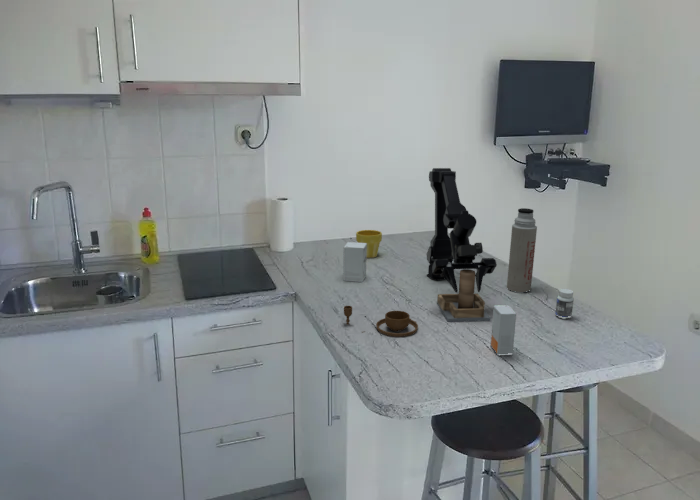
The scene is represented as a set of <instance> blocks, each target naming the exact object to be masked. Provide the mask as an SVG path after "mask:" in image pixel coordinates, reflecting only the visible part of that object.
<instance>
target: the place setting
mask: <svg viewBox="0 0 700 500" xmlns="http://www.w3.org/2000/svg"><path fill="white" fill-rule="evenodd" d="M343 315H344V316H345V317H346V320H345V322H346V325H347V326H350V321H351V320H350V317H351V316H352V315H353V306H351V305H344V306H343ZM384 324H385V325H386V327H387V328H388V329H390V330H391V331H393V332H389V331H386V330H383V329H381V328H380V326H381V325H384ZM409 325H411V326H412V327H413V328H414V329H413V330H412V331H408V332H407V331H406V332H403V331H404V330H405V329H407V328H408V327H409ZM375 327H376V329H377V331H378V332H379V333H380V334H382V335H385V336H388V337H394V338H403V337H409V336H413V335H414V334H415V333H416V332H417V331H418V329H419V325H418V322H417V321H415V320H412V318H410V314H409V313H407V312H406V311H402V310H389V311H387V312H386V313H385V318H381V319H379V320H378V321H377V322H376V323H375ZM363 333H365V330H362V334H363Z"/></svg>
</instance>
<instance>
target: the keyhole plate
mask: <svg viewBox="0 0 700 500" xmlns="http://www.w3.org/2000/svg"><path fill="white" fill-rule="evenodd" d="M458 298H459V293H440V294H437V301H436V306H437V307H438V308H439V311H441V313H442V315H443V317H444V319H445V320H446V322H448V323H453V322H454V323H455V322H456V323H458V322H459V323H462V322H464V321H465V322H491V321H492V318H491V316H490V315H489V313H487V311H486V310H485V307H486V306H485V304H486V302H485V300H484V299H483V298H482V297H481V296H480V294H479V292H477V293H476V292H475V293H474V301H473V308H470V309H458ZM490 320H491V321H490Z"/></svg>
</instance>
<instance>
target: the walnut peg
mask: <svg viewBox="0 0 700 500" xmlns="http://www.w3.org/2000/svg"><path fill="white" fill-rule="evenodd" d="M459 270H460V271H459V279H458V280H459V282H458V294H459V298H458V309H470V308H473V301H474V294H475V285H476V283H475V282H476V277H475V274H476V271H475V270H474V269H459Z"/></svg>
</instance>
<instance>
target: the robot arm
mask: <svg viewBox="0 0 700 500" xmlns="http://www.w3.org/2000/svg"><path fill="white" fill-rule="evenodd" d="M456 176H457V173H456V171H455V170H452V168H451V167H444V168H443V167H438V168H437V167H433V168H432V170H431V171H429V172H428V180H429V182H430V187H431V189H432V191H433V192H434V235H433V236H432V239H431V240H430V243H429V244H430V245H429V247H428V248H427V249H428V250H427V252H426V261H427V262H428V263H429V264H428V272H427V274H426V277H428V278H430V279H431V280H434V281H443V280H446V281H447V282H448V284H449V285H450V287H451V288H452V290H453V291H454V292H455V293H458V292H459V289H458V285H457V280H456V276H455V270H464V269H469V270H475V269H476V272H475V282H476V283H475V285H476V289H477V293H480V292H481V289H482V283H483V279H484V277H485V276H486V275H487V274H488V275H490V274H492V273H493V272H494V270H495V269H496V267H497V265H498V264H497V260H496V259H495V258H493V257H482V258H481V260H480V262H477V261H476V262H474V261H475V260H476V257H477V256H478V254H483V251H484V250H483V249H484V248H483V244H482V242H475V243H474V244H472V243H470V237H471V235H472V234H473V232H474V229H476V226H477V218H476V217H475V216H474V215H472V214H471V213H469V210H467V209H466V206H464V205H463V204H462V203H461V200H460V197H459V195H460V194H459V190H458V187H457V182H456V179H457V177H456ZM449 229H450V230H451V231H450V233H449Z"/></svg>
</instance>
